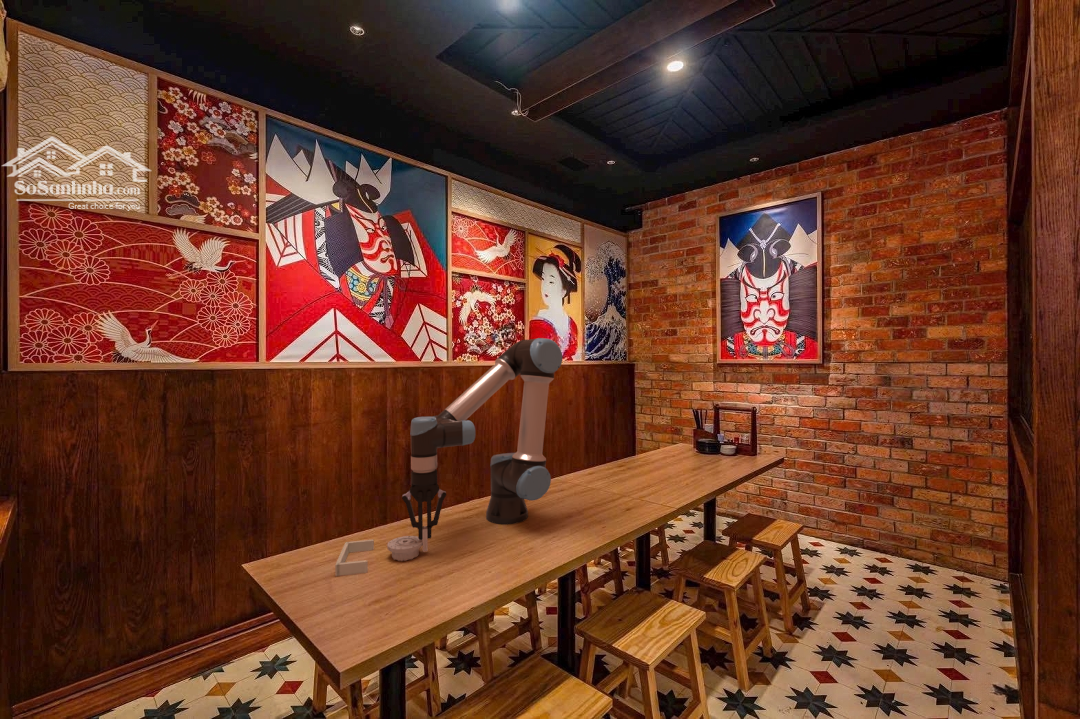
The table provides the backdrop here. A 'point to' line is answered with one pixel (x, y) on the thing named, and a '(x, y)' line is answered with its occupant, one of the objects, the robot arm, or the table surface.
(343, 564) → the u-shaped bracket
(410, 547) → the mechanical component
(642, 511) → the table surface
